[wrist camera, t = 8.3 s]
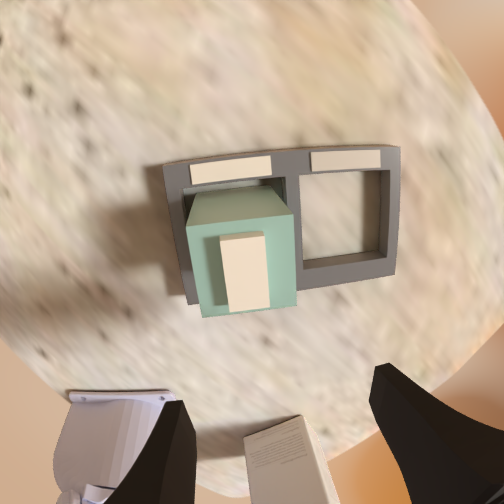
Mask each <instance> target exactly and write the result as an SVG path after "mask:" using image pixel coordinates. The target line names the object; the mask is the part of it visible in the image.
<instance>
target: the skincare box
mask: <svg viewBox="0 0 504 504" xmlns="http://www.w3.org/2000/svg"><path fill="white" fill-rule="evenodd" d="M243 442H244V450H245V458H246V466H247V474H248V482H249V489H250V497H251V504H340V501H339V499H338V496H337V493H336V490H335V487H334V484H333V481H332V477H331V474H330V472H329V468H328V466H327V462H326V460H325V457H324V454H323V451H322V448H321V445H320V442H319V439H318V436H317V434H316V433H315V432H314V430H313V429H312V427H311V426H310V425H309V423H308V422H307V421H306V419H305V418H304V416H302V415H301V416H298V417H295V418H293V419H291V420H288V421H286V422H283V423H281V424H278V425H276V426H273V427H271V428H268V429H265V430H263V431H260V432H257V433H255V434H252V435H249V436H246V437H244V438H243Z"/></svg>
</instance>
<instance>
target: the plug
mask: <svg viewBox="0 0 504 504" xmlns="http://www.w3.org/2000/svg"><path fill="white" fill-rule="evenodd" d="M186 232H187V238H188V244H189V250H190V255H191V261H192V267H193V272H194V278H195V283H196V288H197V294H198V299H199V304H200V309H201V314H202V318H205V317H214V316H223V315H231V314H240V313H248V312H255V311H263V310H270V309H278V308H285V307H292V306H297V298H296V265H295V239H294V217H293V213H292V212H291V211H290V210H289V208H288V207H287V206H286V205H285V203H284V202H283V201H282V200H281V199H280V197H279V196H278V195H277V194H276V193H275V191H274V190H273V189H272V188H271V187H270V185H263V186H253V187H244V188H235V189H226V190H218V191H210V192H202V193H196V195H195V199H194V202H193V205H192V208H191V211H190V214H189V218H188V221H187V224H186Z"/></svg>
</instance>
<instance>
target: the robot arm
mask: <svg viewBox="0 0 504 504" xmlns="http://www.w3.org/2000/svg"><path fill="white" fill-rule="evenodd" d="M160 396H162V397H160ZM69 398H70V400H71V401H72V405H71V407H70V410H69V412H68V415H67V418H66V420H65V423H64V426H63V429H62V431H61V434H60V437H59V440H58V443H57V446H56V449H55V452H54V458H53V470H54V477H55V480H56V482H57V485H58V486H59V488H60V490H61V491H62V493H61V494H60V496H59V498H58V500H57V502H56V504H194V499H195V480H196V463H197V448H196V432H195V429H194V427H193V425H192V422H191V420H190V417H189V415H188V413H187V410H186V408H185V405H184V403H183V400H176V398H175V395H174V393H172V392H171V391H151V392H74V391H72V392H70V393H69ZM369 403H370V406H371V409H372V412H373V414H374V417H375V420H376V422H377V424H378V426H379V428H380V430H381V432H382V434H383V436H384V438H385V440H386V442H387V444H388V445H389V447H390V449H391V451H392V453H393V455H394V457H395V459H396V461H397V463H398V465H399V467H400V470H401V472H402V475H403V478H404V481H405V483H406V486H407V489H408V492H409V495H410V499H411V502H412V504H504V431H503V430H499V429H496V428H493V427H490V426H488V425H485V424H483V423H480V422H478V421H476V420H473V419H471V418H469V417H467V416H465V415H463V414H461V413H459V412H457V411H456V410H454V409H452V408H451V407H449V406H448V405H446V404H444V403H443V402H441V401H439V400H438V399H437V398H435V397H434V396H432V395H431V394H430V393H428V392H427V391H425V390H424V389H423V388H421V387H420V386H419V385H417V384H416V383H415V382H413V381H412V380H411V379H410V378H408V377H407V376H406V375H404V374H403V373H402V372H401V371H399V370H398V369H397V368H396V367H394V366H393V365H392V364H390V363H386V364H382V365H379V366H375V371H374V376H373V382H372V387H371V392H370V397H369Z"/></svg>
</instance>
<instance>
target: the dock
mask: <svg viewBox="0 0 504 504" xmlns="http://www.w3.org/2000/svg"><path fill="white" fill-rule="evenodd" d="M162 168H163V175H164V182H165V188H166V194H167V200H168V206H169V212H170V218H171V223H172V229H173V234H174V240H175V245H176V250H177V255H178V260H179V265H180V270H181V275H182V280H183V284H184V289H185V294H186V298H187V303H188V305H193V304H199V299H198V294H197V288H196V283H195V278H194V272H193V267H192V261H191V255H190V250H189V244H188V238H187V232H186V224H187V221H188V220H187V214H186V208H185V201H184V195H183V189H184V188H191V187H198V186H205V185H213V184H221V183H229V182H237V181H246V180H255V179H264V178H274V177H281V179H282V193H283V202H284V203H285V205H286V206H287V207H288V208H289V210H290V211H291V212H292V213H293V217H294V239H295V265H296V291H299V290H306V289H313V288H319V287H325V286H332V285H338V284H344V283H350V282H356V281H362V280H368V279H374V278H379V277H385V276H390V275H395V266H396V256H397V244H398V230H399V212H400V173H401V161H400V147H398V146H393V145H353V146H327V147H309V148H294V149H281V150H269V151H258V152H248V153H239V154H230V155H222V156H214V157H206V158H199V159H192V160H185V161H179V162H172V163H166V164H165V165H163V166H162ZM369 170H381V206H380V234H379V250H377V251H370V252H363V253H356V254H349V255H342V256H335V257H328V258H320V259H313V260H306V261H303V250H302V226H301V205H300V188H299V175H307V174H320V173H334V172H350V171H369Z"/></svg>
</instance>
